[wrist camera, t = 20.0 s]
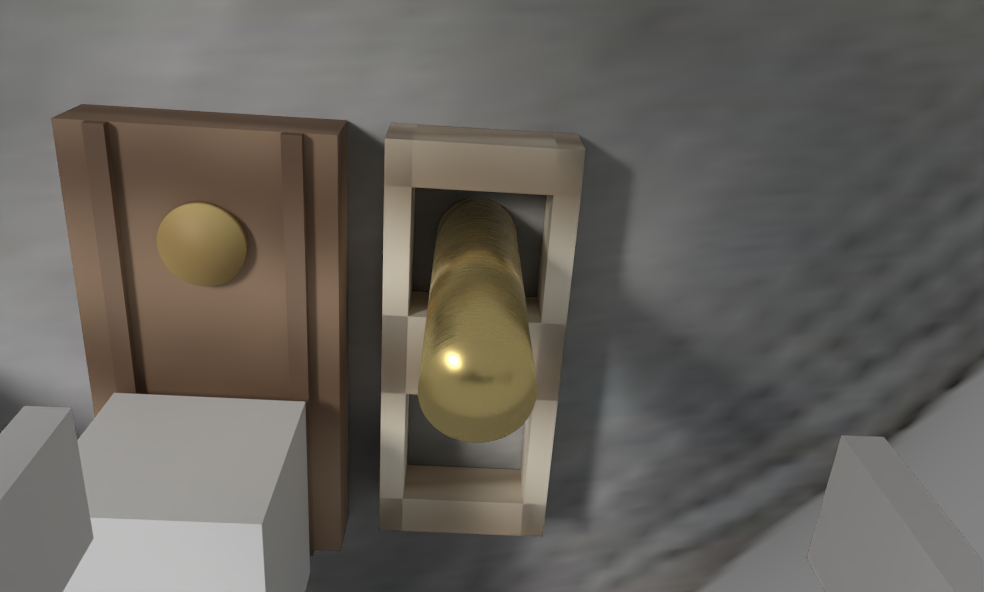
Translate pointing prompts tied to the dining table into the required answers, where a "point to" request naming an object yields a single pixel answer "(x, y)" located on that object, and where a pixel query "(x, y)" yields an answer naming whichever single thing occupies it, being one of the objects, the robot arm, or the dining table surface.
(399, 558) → the dining table surface
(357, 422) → the dining table surface
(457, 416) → the brass pin
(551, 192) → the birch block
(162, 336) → the walnut board
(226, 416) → the block
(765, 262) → the dining table surface
